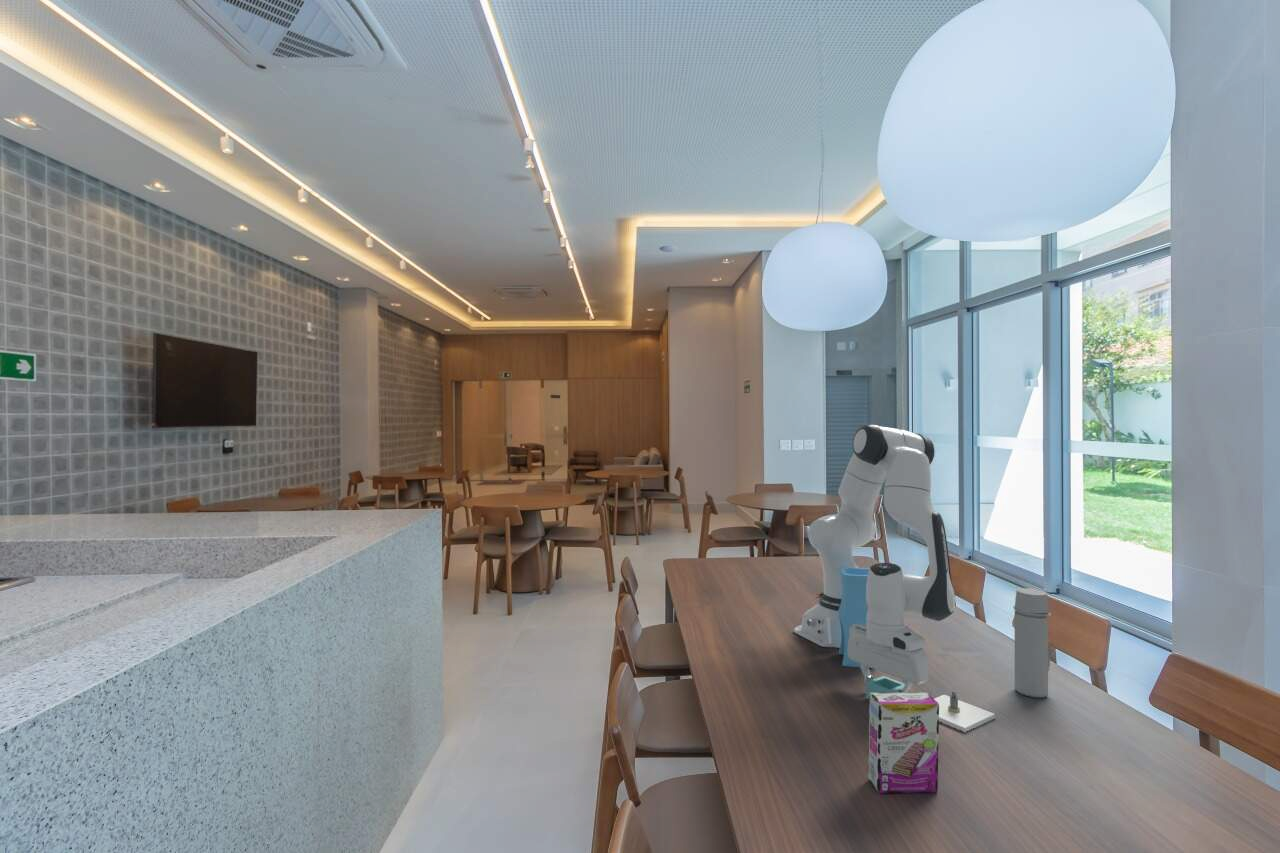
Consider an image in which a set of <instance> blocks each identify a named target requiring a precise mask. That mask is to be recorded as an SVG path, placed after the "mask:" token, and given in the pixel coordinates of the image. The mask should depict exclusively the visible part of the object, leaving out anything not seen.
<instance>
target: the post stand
mask: <svg viewBox="0 0 1280 853" xmlns="http://www.w3.org/2000/svg"><path fill="white" fill-rule="evenodd" d="M933 699H934V700H936V701H937V702H938V703H939V723H941V722H942V724H943V725H946V726H948V725H949V727H951V728H953V729H955V728H956V729H955V730H957V731H960V730H961V731H960V732H962V731H963V732H962V733H967V732H966V731H968V732H969V730H970V731H971V729H972V730H974V729H976V728H978V727H980V726H982V725H985V724H986V723H989V722H990V721H993V720H994V719H996V714H995V713H993V712H990V711H988V710H986V709H983V708H980V707H978V706H975V705H973V704H970V703H967V702H965V701H962V700H959V697H958V696H957V691H955V690H952V691H951V695H950V696H949V695H947V694H942V695H939V696H936V698H933ZM973 728H974V729H973Z"/></svg>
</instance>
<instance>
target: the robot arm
mask: <svg viewBox="0 0 1280 853" xmlns="http://www.w3.org/2000/svg"><path fill="white" fill-rule="evenodd" d="M852 450H853V451H852V452H853V454H852V456H851V458H850V460H849V462H848V464H847V467H846V468H845V469H846V470H845V472H844V474H843V477H842V480H841V482H840V485H839V488H838V490H837V492H838V496H839V498H840V499H841V500H840V508H839V510H838V512H837V513H836V514H835V513H834V514H828V515H823V516H820V517H819V518H817V519H815V520H814V521H813V522H811V523H810V524H809V527H808V530H807V538H808V540H809V543H810V544H811V546H812V547H813V548H814V549H815V550H816V551H817V553H818V556H819V558H820V561H821V565H822V572H823V591H822V592H820V593H818V594H816V596H815V597H816V599H819V601H818V603H817V604H816V605H813V607H811V608H809V609H807V610H806V611H805V612H804V613H803V615H802V619H801V625H798V626H797V625H796V627H794V629H793V633H795V634H797V635H798V636H801V637H802V638H804V639H806V640H808V641H810V642H812V643H814V644H816V645H818V646H820V647H823V648H838V649H840V644H841V625H840V620H839V615H838V610H839V607H840V604H841V600H842V593H843V590H842V580H841V575H840V569H839V568H842V567H849V568H860V566H858V565H857V564H856V562H855V559H854V557H853V551H852V550H853V549H855V548H860V547H863V546H865V545H866V544H868V543H869V542H871V541H872V540H873V539H874V537H875V536H876V533H877V532H876V530H877V528H876V524H875V522H874V519H873V518H874V511H875V506H876V502H877V501H878V497H879V495H880V493H881V490H882V487H883V485H884V488H883V490H884V491H883V505H884V509H885V510H886V512H887V514H888V515H889V516H890V517H891V518H892V519H893V520H894V521H896V522H897V523H900V524H901V525H903V526H905V527H906V528H910V529H911V530H913V531H915V532H917V533H918V534H919V535H921V536H922V537H923V539H924V540H925V542H926V545H927V556H928V565H929V575H928V576H924V575H916V574H912V573H910V574H909V573H905V572H903V570H902V568H901V566H899V565H898V564H895V563H891V562H880V563H875V564H872V565H871V566H870V567H868V568H869V572H868V577H867V586H866V602H867V606H868V612H867V616H866V626H863V625H860V624H857V623H855V624H853V625H851V627H850V637H849V642H848V657H849V659H850V660H852V661H855V662H857V663H860V667H859V668H860V670H861V672H862V675H863V676H864V681H863V682H864V683H865V684H866V682H867V681H870V680H873V679H875V676H874V675H872V673H871V670H870V669H874V670H878V671H880V672H882V673H884V674H887V675H890V676H893V677H896V678H899V679H901V680H902V683H903V684H905V686H904V687H903V688H901V689H899V693H910V690H911V688H912V687H913V685H914V684H915V685H921V684H924V683H926V682H927V680H929V676H930V675H929V674H930V672H929V670H930V669H929V659H928V655H927V652H926V651H925V649H924V648H925V647H926V646H927V645H926V643H927V642H926V641H927V640H926V639H925V638H924V637H923V636H922V635H920V634H919V633H917V632H915V630H913V629H912V628H910V627H908V626H907V625H906V618H905V614H909V615H913V616H919V617H923V618H924V619H925V618H926V619H929V620H932V621H933V620H934V621H936V622H940V621H943V620H945V619H947V618H948V617H950V616H951V615H953V613H954V612H955V607H956V596H955V595H956V594H955V590H954V587H953V586H954V585H953V581H952V576H951V567H950V558H949V550H948V540H947V534H946V527H945V523H944V520H943V517H942V516H941V514H940V512H938V511H936V510H935V508H934V507H933V504H932V501H931V491H932V490H931V489H932V486H931V485H932V484H931V482H932V478H931V477H932V476H931V466H930V465H931V464H932V462H933V461H934V458H935V452H936V451H935V450H936V449H935V445H934V443H933V441H932V440H931V439H930V438H929V437H928V436H925V435H923V434H920V433H915V432H912V431H909V430H905V429H901V428H897V427H896V428H895V427H886V426H879V425H877V424H864V425H861V427H859V428H858V429H857V431H856V432H855V434H854V436H853V439H852ZM869 667H871V668H869Z"/></svg>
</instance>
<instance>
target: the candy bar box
mask: <svg viewBox="0 0 1280 853" xmlns="http://www.w3.org/2000/svg"><path fill="white" fill-rule="evenodd" d="M868 702H869V704H868V705H869V706H868V707H869V708H868V709H869V711H868V714H869V715H868V765H867V766H868V769H867V770H868V772H867V773H868V776H867V778H868V780H869V782H870V783H871V784H872V786H873V788H874V789H875V791H876V792H877V793H878V794H906V793H907V794H911V793H913V794H914V793H916V794H917V793H938V790H939V787H938V786H939V785H938V784H939V782H938V781H939V740H940V739H939V738H940V737H939V734H940V733H939V731H940V725H939V724H940V722H939V703H938V702H937V701H936V700H934V698H933V697H932V696H931V694H929V693H928V692H909V693H870V696H869V700H868Z"/></svg>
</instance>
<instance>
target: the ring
mask: <svg viewBox="0 0 1280 853" xmlns="http://www.w3.org/2000/svg"><path fill="white" fill-rule="evenodd" d="M904 686H905V684H903V682H901V681H898V680H896V679H893V678H890V677H887V676H886V675H882V676H880V677H876V678H874V679H873V680H870V681H867V682H866V683H865V696H866V697H865V699H867V700H868V701H869V696H870V693H899V689H901V688H903V687H904Z"/></svg>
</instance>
